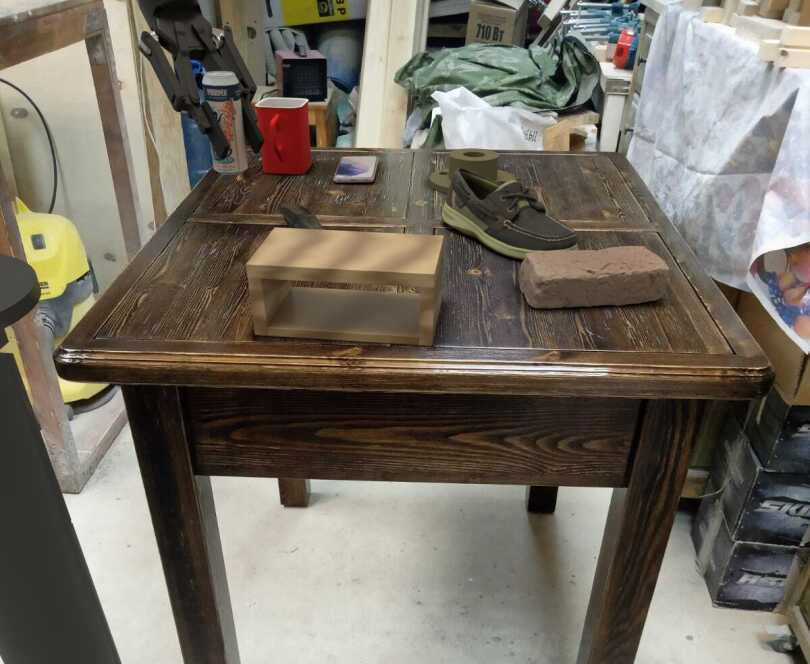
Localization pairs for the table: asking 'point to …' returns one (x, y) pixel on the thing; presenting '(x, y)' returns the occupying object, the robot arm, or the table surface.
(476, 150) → the flange
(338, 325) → the shelf
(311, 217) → the tool
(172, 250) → the table surface
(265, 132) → the mug
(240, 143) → the beer can
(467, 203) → the boat shoe
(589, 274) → the brick
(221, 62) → the robot arm
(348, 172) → the smartphone
